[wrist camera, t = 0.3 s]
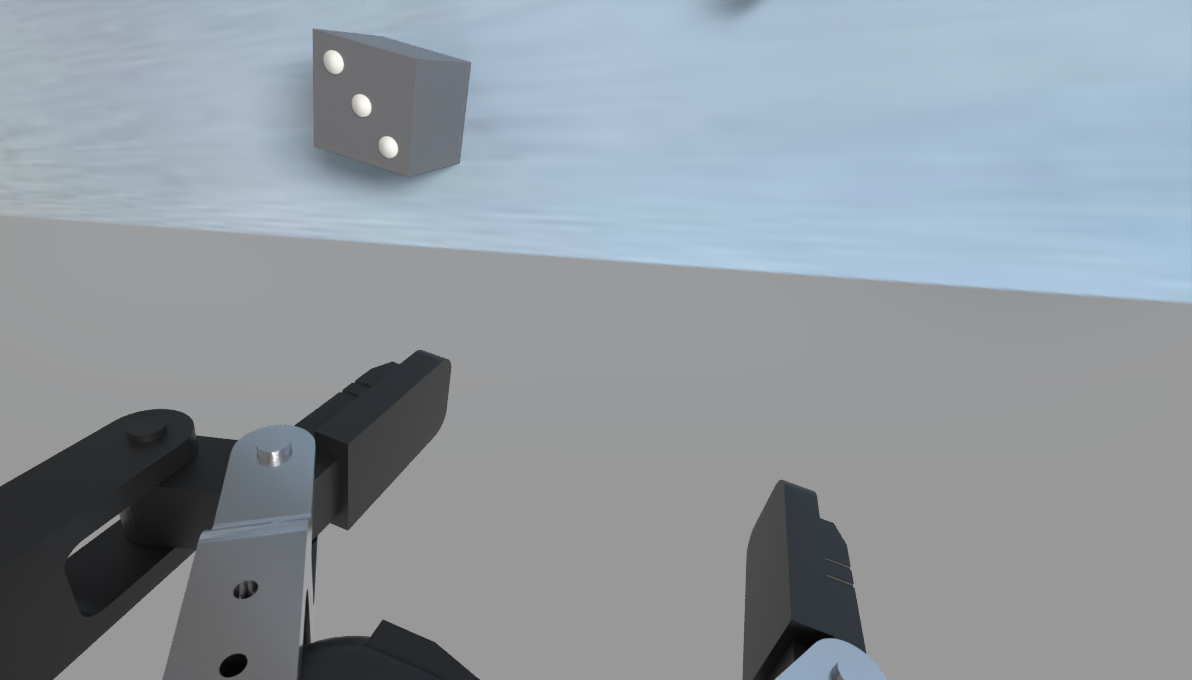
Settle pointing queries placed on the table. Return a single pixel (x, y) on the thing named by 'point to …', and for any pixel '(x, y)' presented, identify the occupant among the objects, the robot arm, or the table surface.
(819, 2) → the table surface
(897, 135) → the table surface
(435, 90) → the die
